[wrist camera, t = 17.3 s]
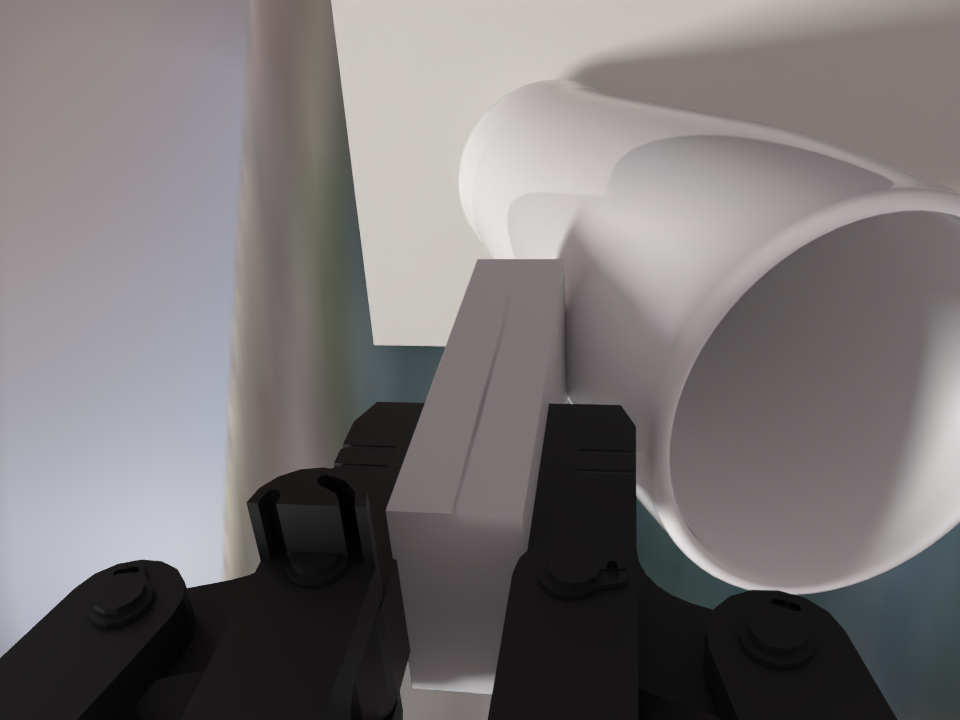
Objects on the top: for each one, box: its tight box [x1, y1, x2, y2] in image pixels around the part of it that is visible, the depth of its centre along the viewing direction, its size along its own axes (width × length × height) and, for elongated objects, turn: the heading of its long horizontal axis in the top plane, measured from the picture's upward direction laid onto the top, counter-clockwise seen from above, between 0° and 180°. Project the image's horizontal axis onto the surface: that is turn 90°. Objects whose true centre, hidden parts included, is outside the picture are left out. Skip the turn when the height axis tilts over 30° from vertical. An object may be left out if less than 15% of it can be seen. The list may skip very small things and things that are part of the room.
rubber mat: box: [331, 0, 960, 346], centre depth 26 cm, size 24×13×1 cm, turn 93°
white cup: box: [458, 79, 960, 595], centre depth 20 cm, size 7×7×15 cm
